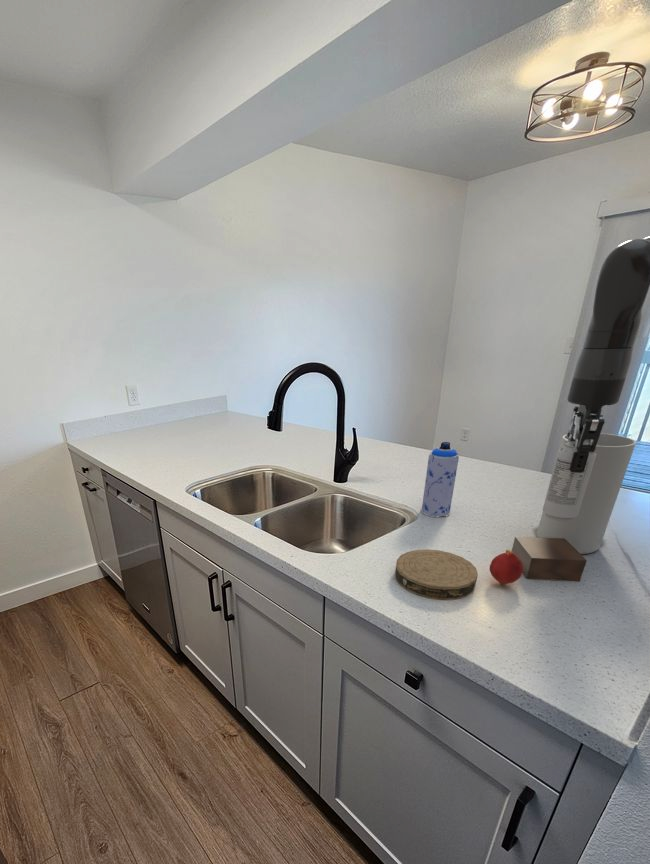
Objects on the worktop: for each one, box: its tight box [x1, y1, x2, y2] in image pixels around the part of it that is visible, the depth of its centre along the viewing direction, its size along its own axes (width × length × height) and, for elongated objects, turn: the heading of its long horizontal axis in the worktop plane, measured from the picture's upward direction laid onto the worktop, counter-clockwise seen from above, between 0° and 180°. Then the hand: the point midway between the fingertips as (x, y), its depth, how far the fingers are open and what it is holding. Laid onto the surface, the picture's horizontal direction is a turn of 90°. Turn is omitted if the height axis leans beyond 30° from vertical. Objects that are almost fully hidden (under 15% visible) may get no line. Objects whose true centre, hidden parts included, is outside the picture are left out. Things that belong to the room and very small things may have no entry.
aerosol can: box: [420, 441, 460, 517], centre depth 120 cm, size 8×8×20 cm
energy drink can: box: [542, 441, 596, 521], centre depth 86 cm, size 6×6×15 cm
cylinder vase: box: [535, 432, 637, 555], centre depth 98 cm, size 12×12×25 cm
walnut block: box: [511, 536, 588, 582], centre depth 93 cm, size 10×10×5 cm
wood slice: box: [394, 548, 479, 601], centre depth 92 cm, size 16×16×3 cm
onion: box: [489, 549, 523, 586], centre depth 88 cm, size 6×6×8 cm
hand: (573, 466), depth 84 cm, fingers closed on energy drink can, 6 cm apart
